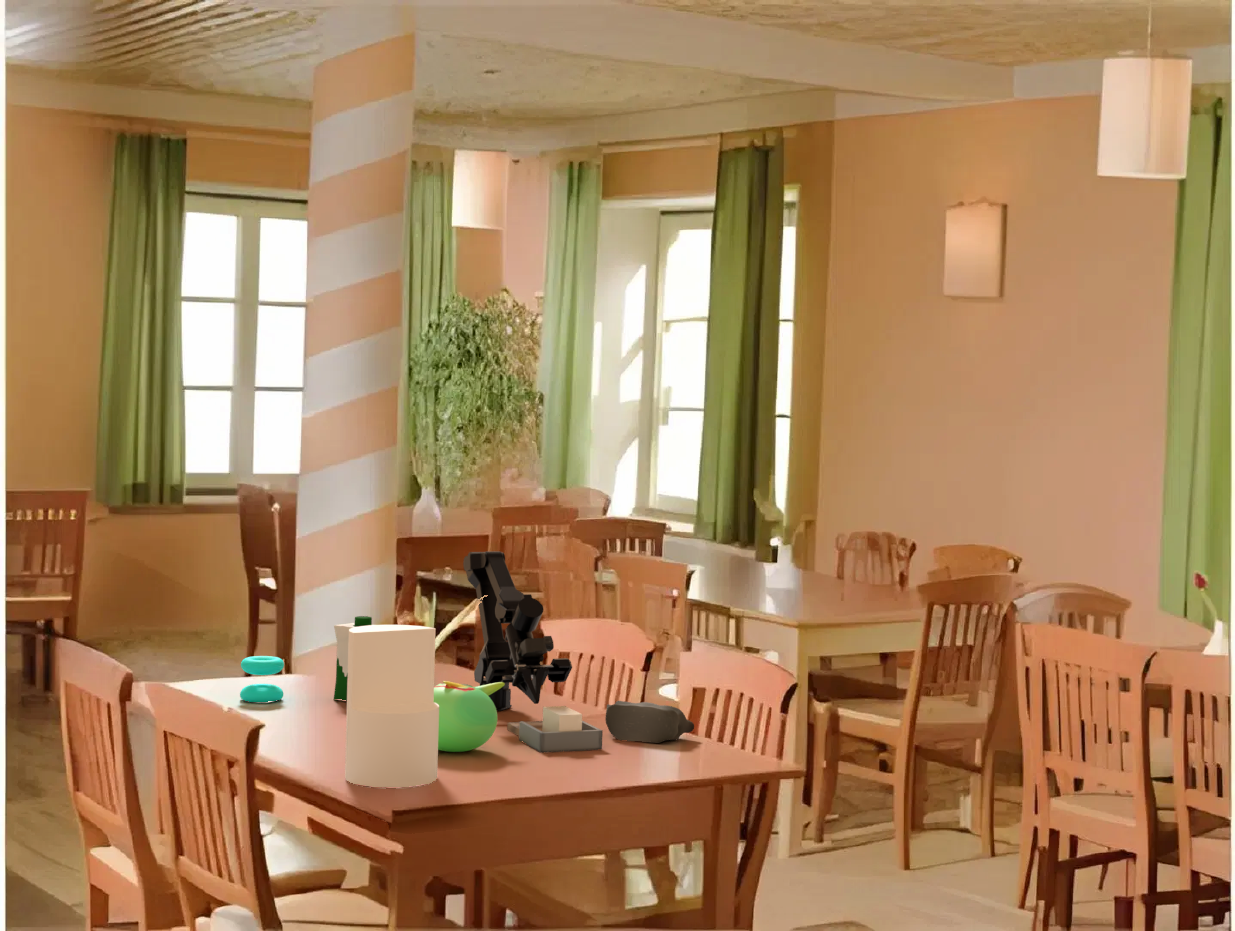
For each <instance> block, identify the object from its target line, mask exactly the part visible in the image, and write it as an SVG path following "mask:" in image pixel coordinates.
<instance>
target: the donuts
mask: <svg viewBox="0 0 1235 931" xmlns="http://www.w3.org/2000/svg"><path fill="white" fill-rule="evenodd" d="M284 667H285V662H284V660H283V659H282V658H280V657H278V656H271V655H270V656H269V655H254V656H248V657H245V658H243V659H242V661H241V662H240V668H241V669H242V671H243V672H245V673H247V674H248V675H249V674H250V675H255V676H268V675H269V676H270V675H271V676H272V675H276V674H278V673H280V672H281V671H283V669H284ZM239 696H240V699H241V700H242V699H243V700H242V701H244V700H245V701H244V702H246V701H249V702H248V703H250V702H268V701H276V700H279V701H280V699H281V700H282V698H283V697H284V691H283V689H282V688H281V687H280V686H278V685H276V684H272V683H271V684H270V683H254V684H253V683H252V684H249V685H246V686H244V687H243V688H242V689H241V690H240V693H239Z"/></svg>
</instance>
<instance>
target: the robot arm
mask: <svg viewBox="0 0 1235 931" xmlns="http://www.w3.org/2000/svg"><path fill="white" fill-rule="evenodd" d="M463 570H464V571H465V573H466V574H465V575H466V579H467V581H468V583H470V584H471V585H472V586H473V588H474V589H475V592H476V598H477V599H476V600H478V599H480V598H481V597H483V596H484V595H488V596H487V597H484V598H483V600H482V599H481V600H480V601H482V603H480V604H479V605H478V610H479V617H480V624H481V631H482V637H483V646H482V649H481V651H480V653H479V657H478V658H479V659H478V662H477V663H476V667H475V668H474V672H473V674H474V682H476V683H478V684H479V686H482V685H487V684H491V683H497V682H503V683H505V685H504V686H503V687H502V688H500V689H499V690H497V691H495V692H494V693H492V694H490V695H489V697H490V699H491V700H492V701H493V703H494V705H495V707H496V711H498V712H501V711H504V710H506V709H510V708H512V704H511V697H512V696H511V692H512V691H511V690H512V689H511V688H510V683H511V685H512V687H516V688H518V690H519V691H521V692H523V694H524V695H525V696H526V697H527V698H529V700H530V701H532V703H533V704H535V705H537V704H539V702H540V699H541V698H540V697H541V691H542V690H541V689H542V686H543V685H544V683H545V682H546V680H548V681H550V682H551V683H564V682H566V681H567V680H568V677H569V675H570V673H571V671H572V669H573V664H572V661H571V660H570V658H567V657H565V658H552V660H551V661H550V664H541V663H542V662H543V661H544V660H545V657H544V654H547V653H548V652H551V651H553V650H554V639H553V637H552V635H543V637H537V638H536V637H535V638H534V635H533V632H534V631H535V630H536V629H537V627H538V625H539V623H540V620H541V618H542V615H543V612H544V605H543V604H542V603H541V602H540V600H537V599H535V598H533V595H532V593H531V594H530V593H529V594H524V592H521V591H520V590H518V589H517V588H516V586H515V584H514V581H513V579H512V576H511V573H510V571H509V568H508V566H507V564H506V555H505V553H504V552H503V551H498V550H497V551H496V550H495V551H490V550H489V551H469V552H468V554H467V555H465V556H464V558H463ZM503 624H508V625H506V627H505V635H504V632H503Z"/></svg>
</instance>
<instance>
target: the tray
mask: <svg viewBox="0 0 1235 931" xmlns="http://www.w3.org/2000/svg"><path fill="white" fill-rule="evenodd" d="M519 722H520V723H519V736H518V741H520V742H521V741H523V742H524V743H523V742H522V743H523V744H525V743H526V744H527V746H528V745H529V746H528V747H530V748H532V749H533V748H534V750H535V749H536V750H535V751H537V752H539V753H541V754H542V753H544V752H545V753H561V752H563V751H564V752H579V751H598V749H602V750H603V732H604V731H603V730H602V729H600V728H599V727H596V726H594V725H593V724H590V723H589V722H586V721H584V720H582V731H560V732H542V731H540V730H538V729H536V728H534V727H533V726H531V725H529V724H527V723H525V722H526V721H523V720H520V721H519ZM526 744H525V745H526ZM564 752H563V753H564ZM545 753H544V754H545Z"/></svg>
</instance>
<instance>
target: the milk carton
mask: <svg viewBox="0 0 1235 931" xmlns="http://www.w3.org/2000/svg"><path fill="white" fill-rule="evenodd" d="M372 619H373V618H372V616H368V615H367V616H366V615H364V616H363V615H360V616H354V622H351V623H350V622H349V623H343V624H342V623H340V624H334V625H333V628H334V633H335V639H336V663H335V666H336V667H335V668H336V670H335V686H334V695H333V700H334V699H342V700H346V701H347V680H348V643H349V629H351V628H354V627H359V626H368V625H374V624H373V623H372Z"/></svg>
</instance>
